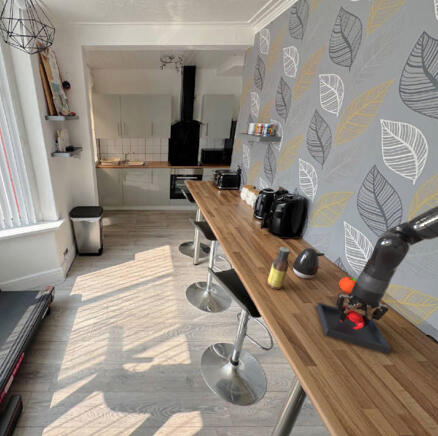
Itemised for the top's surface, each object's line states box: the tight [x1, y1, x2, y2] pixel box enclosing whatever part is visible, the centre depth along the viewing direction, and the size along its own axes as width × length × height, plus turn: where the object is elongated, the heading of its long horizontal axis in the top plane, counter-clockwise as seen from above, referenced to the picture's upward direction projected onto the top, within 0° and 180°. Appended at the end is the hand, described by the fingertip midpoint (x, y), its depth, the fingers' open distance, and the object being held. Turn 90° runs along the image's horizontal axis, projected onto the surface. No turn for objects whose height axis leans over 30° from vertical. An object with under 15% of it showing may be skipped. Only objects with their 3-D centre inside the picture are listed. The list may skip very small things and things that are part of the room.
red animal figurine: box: [340, 310, 365, 330], centre depth 86 cm, size 8×6×6 cm
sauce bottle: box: [266, 246, 291, 290], centre depth 104 cm, size 7×6×20 cm
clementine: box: [338, 276, 357, 294], centre depth 105 cm, size 8×7×7 cm
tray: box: [315, 302, 391, 354], centre depth 87 cm, size 18×15×3 cm
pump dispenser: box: [292, 247, 326, 280], centre depth 113 cm, size 10×10×15 cm
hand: (351, 321), depth 86 cm, fingers closed on red animal figurine, 5 cm apart
